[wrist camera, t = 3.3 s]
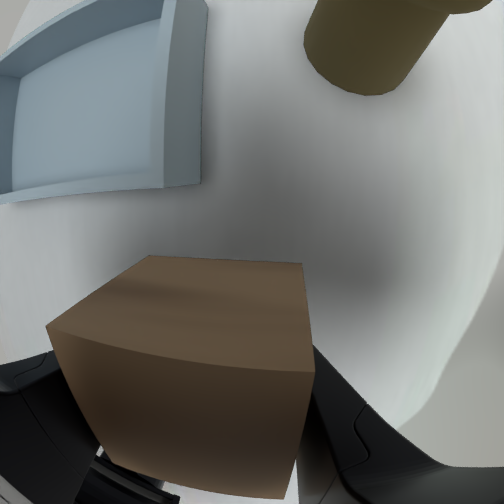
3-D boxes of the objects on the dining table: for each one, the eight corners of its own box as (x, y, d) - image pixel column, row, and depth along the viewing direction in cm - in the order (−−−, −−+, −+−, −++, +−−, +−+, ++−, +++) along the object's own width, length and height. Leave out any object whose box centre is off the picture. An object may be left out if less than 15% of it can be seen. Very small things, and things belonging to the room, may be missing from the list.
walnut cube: (289, 386, 10) (283, 499, 5) (166, 371, 10) (112, 463, 6) (301, 263, 8) (314, 371, 4) (149, 255, 9) (45, 326, 4)
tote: (200, 183, 14) (163, 187, 10) (14, 199, 16) (-26, 209, 12) (208, 7, 11) (183, -35, 7) (23, 75, 13) (-15, 69, 9)
